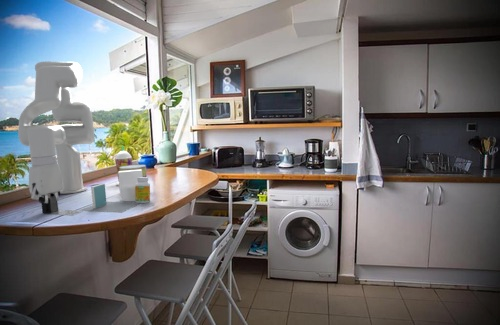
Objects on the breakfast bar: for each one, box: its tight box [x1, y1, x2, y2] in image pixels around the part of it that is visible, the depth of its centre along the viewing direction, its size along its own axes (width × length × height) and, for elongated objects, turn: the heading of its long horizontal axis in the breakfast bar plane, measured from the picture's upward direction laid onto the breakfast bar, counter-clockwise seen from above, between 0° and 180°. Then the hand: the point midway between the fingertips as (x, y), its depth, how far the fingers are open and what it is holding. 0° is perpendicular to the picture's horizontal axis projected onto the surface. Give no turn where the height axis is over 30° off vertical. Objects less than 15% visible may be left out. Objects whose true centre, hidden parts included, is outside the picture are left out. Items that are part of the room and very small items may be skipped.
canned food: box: [119, 164, 148, 177], centre depth 143 cm, size 11×11×12 cm
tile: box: [90, 183, 108, 208], centre depth 119 cm, size 1×6×8 cm, turn 166°
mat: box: [77, 201, 143, 214], centre depth 118 cm, size 18×13×1 cm
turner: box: [43, 195, 84, 216], centre depth 112 cm, size 14×5×6 cm, turn 76°
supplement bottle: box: [134, 176, 151, 204], centre depth 124 cm, size 5×5×10 cm
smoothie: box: [114, 145, 133, 182], centre depth 166 cm, size 8×8×20 cm
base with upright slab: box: [117, 169, 142, 202], centre depth 130 cm, size 9×9×12 cm
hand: (50, 212), depth 114 cm, fingers closed on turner
